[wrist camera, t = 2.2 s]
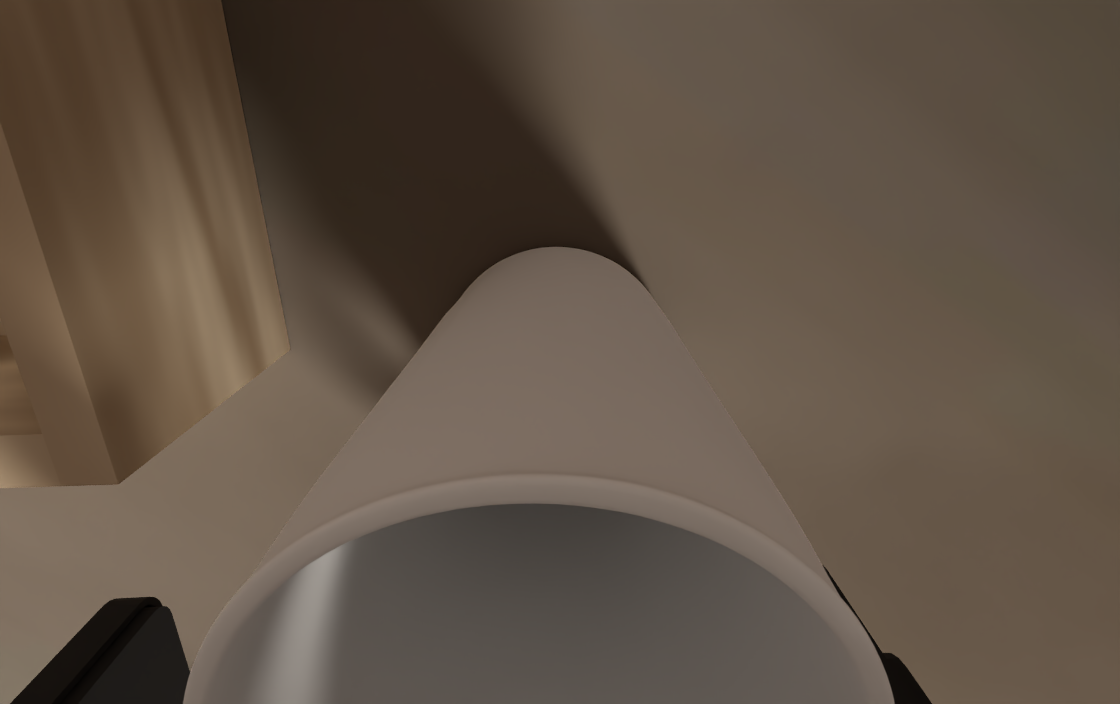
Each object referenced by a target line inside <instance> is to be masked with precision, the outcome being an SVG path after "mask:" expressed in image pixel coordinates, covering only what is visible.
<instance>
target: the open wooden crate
mask: <svg viewBox="0 0 1120 704" xmlns="http://www.w3.org/2000/svg"><path fill="white" fill-rule="evenodd" d="M289 350H290V344H289V339H288V334H287V329H286V324H285V319H284V314H283V309H282V304H281V299H280V294H279V289H278V284H277V279H276V274H275V269H274V264H273V259H272V254H271V249H270V244H269V239H268V234H267V229H266V224H265V219H264V214H263V208H262V203H261V198H260V193H259V188H258V183H257V178H256V173H255V168H254V163H253V158H252V153H251V148H250V143H249V138H248V133H247V128H246V123H245V118H244V113H243V108H242V103H241V98H240V93H239V88H238V83H237V78H236V73H235V68H234V63H233V58H232V53H231V47H230V42H229V37H228V32H227V27H226V22H225V17H224V12H223V7H222V2H221V0H0V488H18V487H50V486H81V485H113V484H120V483H121V482H122V481H123V480H125V479H126V478H127V477H128V476H130V475H131V474H132V473H134V472H135V471H136V470H137V469H139V468H140V467H141V466H142V465H144V464H145V463H146V462H148V461H149V460H150V459H151V458H153V457H154V456H155V455H157V454H158V453H159V452H160V451H162V450H163V449H164V448H165V447H167V446H168V445H169V444H171V443H172V442H173V441H174V440H176V439H177V438H178V437H179V436H181V435H182V434H183V433H185V432H186V431H187V430H188V429H190V428H191V427H192V426H194V425H195V424H196V423H197V422H199V421H200V420H201V419H202V418H204V417H205V416H206V415H208V414H209V413H210V412H211V411H213V410H214V409H215V408H216V407H218V406H219V405H220V404H222V403H223V402H224V401H225V400H227V399H228V398H229V397H231V396H232V395H233V394H234V393H236V392H237V391H238V390H239V389H241V388H242V387H243V386H245V385H246V384H247V383H248V382H250V381H251V380H252V379H253V378H255V377H256V376H257V375H259V374H260V373H261V372H262V371H264V370H265V369H266V368H268V367H269V366H270V365H271V364H273V363H274V362H275V361H276V360H278V359H279V358H280V357H282V356H283V355H284V354H285V353H287V352H288V351H289Z"/></svg>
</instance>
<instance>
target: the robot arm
mask: <svg viewBox="0 0 1120 704" xmlns="http://www.w3.org/2000/svg"><path fill="white" fill-rule="evenodd" d="M823 567H824V566H823ZM824 569H825V571H826V573H827V575H828V576H829V578H830V580H831V582H832V583H833V585H834V587H835V589H836V590H837V592H838V594H839V596H840V597H841V598H842V599H843V600H844V602H845V603H846V604H847V605H848V606H849V608H850V609H851V610H852V612H853V613H854V614H855V616H856V617H857V619H858V620H859V622H860V623H861V625H862V626H863V628H864V629H865V631H866V632H867V634H868V636H869V638H870V639H871V641H872V643H873V645H874V647H875V649H876V651H877V653H878V655H879V657H880V659H881V662H882V664H883V667H884V669H885V672H886V674H887V677H888V680H889V683H890V686H891V690H892V694H893V698H894V702H895V704H932V703H931V702H930V700H929V699H928V697H927V696H926V695H925V693H924V692H923V690H922V689H921V687H920V686H919V684H918V683H917V682H916V680H915V679H914V677H913V676H912V674H911V673H910V672H909V670H908V669H907V667H906V666H905V665H904V664H903V663H902V661H901V660H900V659H899V658H898V657H896V656H895V655H893V654H892V653H882V651H881V650H880V648H879V647H878V645H877V644H876V642H875V641H874V639H873V638H872V636H871V635H870V633H869V632H868V630H867V629H866V627H865V626H864V624H863V623H862V621H861V620H860V618H859V617H858V616H857V614H856V613H855V611H854V610H853V608H852V607H851V605H850V604H849V602H848V601H847V599H846V598H845V596H844V595H843V593H842V592H841V590H840V589H839V587H838V586H837V584H836V583H835V581H834V580H833V578H832V577H831V575H830V574H829V572H828V571H827V569H826V568H825V567H824ZM189 675H190V671H189V668H188V665H187V661H186V658H185V655H184V652H183V648H182V645H181V642H180V639H179V635H178V632H177V629H176V626H175V622H174V619H173V616H172V613H171V611H170V609H169V608H168V607H165V606H162V604H161V602H160V601H159V600H158V599H157V598H155V597H139V598H119V599H113V600H111V601H109V602H107V603H106V604H105V605H104V606H103V607H102V608H101V609H100V610H99V611H98V612H97V613H96V614H95V615H94V616H93V617H92V618H91V619H90V620H89V621H88V622H87V623H86V625H85V626H84V627H83V628H82V629H81V630H80V631H79V632H78V633H77V634H76V635H75V636H74V637H73V638H72V639H71V640H70V641H69V642H68V643H67V645H66V646H65V647H64V648H63V649H62V650H61V651H60V652H59V653H58V654H57V655H56V656H55V657H54V658H53V659H52V660H51V661H50V662H49V663H48V664H47V666H46V667H45V668H44V669H43V670H42V671H41V672H40V673H39V674H38V675H37V676H36V677H35V678H34V679H33V680H32V681H31V682H30V683H29V684H28V685H27V687H26V688H25V689H24V690H23V691H22V692H21V693H20V694H19V695H18V696H17V697H16V698H15V699H14V700H13V701H12V702H11V703H10V704H183V701H184V695H185V690H186V686H187V682H188V678H189Z"/></svg>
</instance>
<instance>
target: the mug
mask: <svg viewBox="0 0 1120 704" xmlns="http://www.w3.org/2000/svg"><path fill="white" fill-rule="evenodd" d="M183 704H895V702H894V698H893V694H892V690H891V686H890V683H889V680H888V677H887V674H886V672H885V669H884V667H883V664H882V662H881V659H880V657H879V655H878V653H877V651H876V649H875V647H874V645H873V643H872V641H871V639H870V638H869V636H868V634H867V632H866V631H865V629H864V628H863V626H862V625H861V623H860V622H859V620H858V619H857V617H856V616H855V614H854V613H853V612H852V610H851V609H850V608H849V606H848V605H847V604H846V603H845V602H844V600H843V599H842V598H841V597H840V596H839V594H838V592H837V590H836V589H835V587H834V585H833V583H832V582H831V580H830V578H829V576H828V575H827V573H826V571H825V569H824V567H823V565H822V564H821V562H820V560H819V558H818V556H817V555H816V553H815V551H814V549H813V547H812V546H811V544H810V542H809V540H808V539H807V537H806V535H805V533H804V532H803V530H802V528H801V526H800V525H799V523H798V521H797V520H796V518H795V516H794V515H793V513H792V512H791V510H790V508H789V507H788V505H787V503H786V502H785V500H784V499H783V497H782V495H781V494H780V492H779V491H778V489H777V488H776V486H775V484H774V483H773V481H772V480H771V478H770V477H769V475H768V474H767V472H766V470H765V469H764V467H763V466H762V464H761V463H760V461H759V460H758V458H757V457H756V455H755V453H754V452H753V450H752V449H751V447H750V446H749V444H748V443H747V441H746V440H745V438H744V437H743V435H742V433H741V432H740V430H739V429H738V427H737V426H736V424H735V423H734V421H733V420H732V418H731V416H730V415H729V413H728V412H727V410H726V409H725V407H724V406H723V404H722V403H721V401H720V400H719V398H718V396H717V395H716V393H715V392H714V390H713V389H712V387H711V386H710V384H709V383H708V381H707V379H706V378H705V376H704V375H703V373H702V372H701V370H700V369H699V367H698V365H697V364H696V362H695V361H694V359H693V358H692V356H691V355H690V353H689V351H688V350H687V348H686V347H685V345H684V343H683V342H682V340H681V339H680V337H679V335H678V334H677V332H676V331H675V329H674V327H673V326H672V324H671V323H670V321H669V320H668V318H667V317H666V315H665V314H664V313H663V311H662V310H661V308H660V307H659V306H658V304H657V303H656V302H655V300H654V299H653V297H652V296H651V295H650V293H649V292H648V291H647V289H646V288H645V287H644V286H643V285H642V284H641V283H640V282H639V281H638V280H637V279H636V278H635V277H634V276H633V275H632V274H631V273H630V272H628V271H627V270H626V269H624V268H623V267H621V266H620V265H618V264H617V263H615V262H613V261H611V260H610V259H608V258H605V257H603V256H601V255H598V254H595V253H592V252H589V251H585V250H581V249H576V248H569V247H544V248H537V249H531V250H527V251H523V252H520V253H517V254H515V255H512V256H510V257H507V258H505V259H503V260H501V261H500V262H498V263H496V264H495V265H493V266H491V267H490V268H489V269H487V270H486V271H485V272H483V273H482V274H481V275H480V276H479V277H478V278H477V279H476V280H475V281H474V282H473V283H472V284H471V285H470V286H469V287H468V288H467V289H466V291H465V292H464V293H463V295H462V296H461V297H460V298H459V300H458V301H457V302H456V303H455V304H454V305H453V307H452V308H451V309H450V310H449V311H448V312H447V313H446V314H445V315H444V317H443V318H442V319H441V321H440V322H439V323H438V325H437V326H436V327H435V329H434V330H433V331H432V333H431V334H430V335H429V337H428V338H427V339H426V340H425V342H424V343H423V344H422V346H421V347H420V348H419V350H418V351H417V352H416V354H415V355H414V356H413V357H412V359H411V360H410V361H409V363H408V364H407V365H406V366H405V368H404V369H403V370H402V372H401V373H400V374H399V375H398V377H397V378H396V379H395V381H394V382H393V383H392V384H391V386H390V387H389V388H388V390H387V391H386V392H385V393H384V395H383V396H382V397H381V399H380V400H379V401H378V402H377V404H376V405H375V406H374V408H373V409H372V410H371V411H370V413H369V414H368V415H367V416H366V418H365V419H364V420H363V422H362V423H361V424H360V425H359V427H358V428H357V429H356V431H355V432H354V433H353V434H352V436H351V437H350V438H349V440H348V441H347V442H346V443H345V445H344V446H343V447H342V449H341V450H340V451H339V452H338V454H337V455H336V456H335V458H334V459H333V460H332V461H331V463H330V464H329V465H328V467H327V468H326V469H325V470H324V472H323V473H322V474H321V476H320V477H319V478H318V480H317V481H316V482H315V484H314V485H313V486H312V488H311V489H310V491H309V492H308V493H307V495H306V496H305V497H304V499H303V500H302V501H301V503H300V504H299V506H298V507H297V509H296V510H295V511H294V513H293V514H292V516H291V517H290V519H289V520H288V522H287V523H286V524H285V526H284V527H283V529H282V530H281V532H280V533H279V534H278V536H277V537H276V539H275V540H274V542H273V543H272V545H271V546H270V548H269V549H268V551H267V552H266V554H265V555H264V557H263V558H262V560H261V561H260V563H259V564H258V566H257V567H256V569H255V570H254V571H253V573H252V574H251V576H250V577H249V579H248V580H247V581H246V582H245V583H244V584H243V585H242V586H241V587H240V588H239V589H238V591H237V592H236V593H235V594H234V595H233V596H232V597H231V599H230V600H229V601H228V603H227V604H226V605H225V607H224V608H223V609H222V611H221V612H220V614H219V615H218V617H217V618H216V620H215V621H214V623H213V624H212V626H211V628H210V629H209V631H208V633H207V635H206V637H205V639H204V641H203V643H202V645H201V647H200V649H199V651H198V653H197V656H196V658H195V660H194V663H193V666H192V669H191V672H190V675H189V678H188V682H187V686H186V690H185V695H184V701H183Z"/></svg>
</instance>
